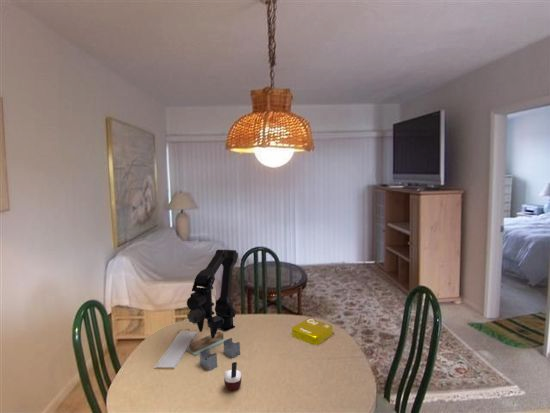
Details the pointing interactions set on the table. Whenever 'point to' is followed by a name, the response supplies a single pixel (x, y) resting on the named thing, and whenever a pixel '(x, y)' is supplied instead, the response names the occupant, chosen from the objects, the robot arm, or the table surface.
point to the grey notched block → (208, 359)
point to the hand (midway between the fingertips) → (206, 334)
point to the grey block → (231, 348)
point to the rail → (205, 342)
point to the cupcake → (232, 377)
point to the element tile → (312, 331)
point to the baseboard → (175, 351)
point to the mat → (207, 347)
